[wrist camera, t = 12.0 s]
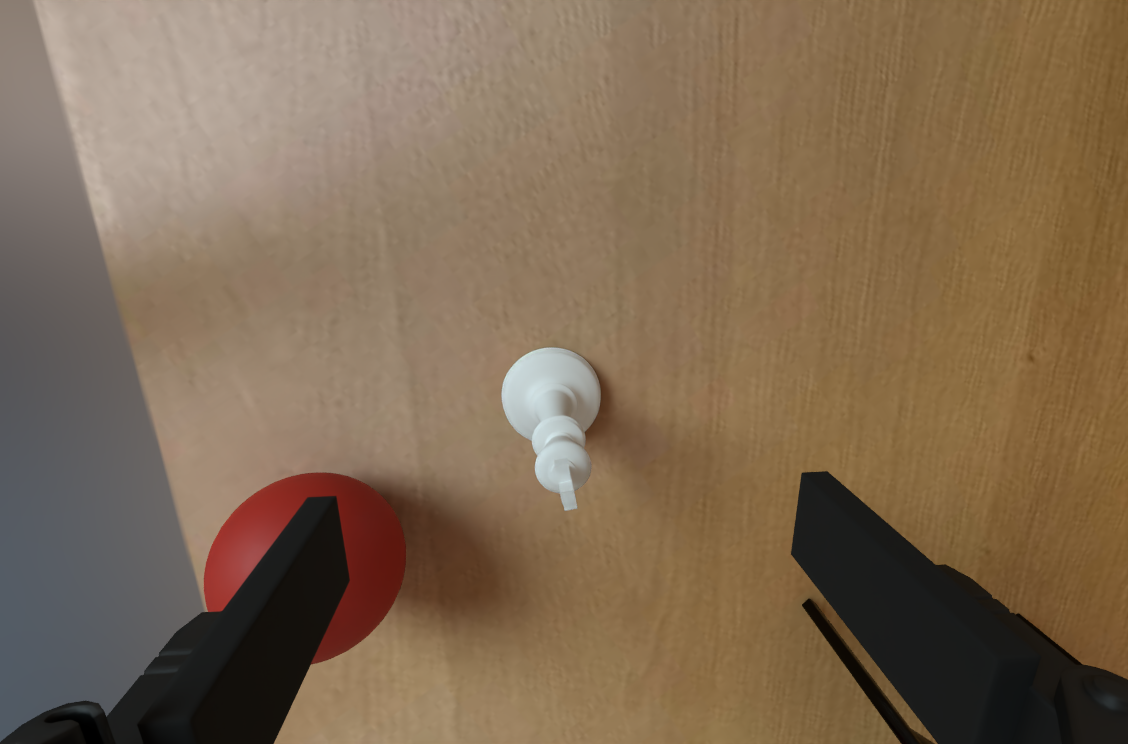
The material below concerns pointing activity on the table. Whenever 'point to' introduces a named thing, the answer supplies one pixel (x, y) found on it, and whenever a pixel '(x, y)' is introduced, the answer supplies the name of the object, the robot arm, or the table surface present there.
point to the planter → (908, 737)
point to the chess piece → (554, 415)
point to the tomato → (366, 540)
